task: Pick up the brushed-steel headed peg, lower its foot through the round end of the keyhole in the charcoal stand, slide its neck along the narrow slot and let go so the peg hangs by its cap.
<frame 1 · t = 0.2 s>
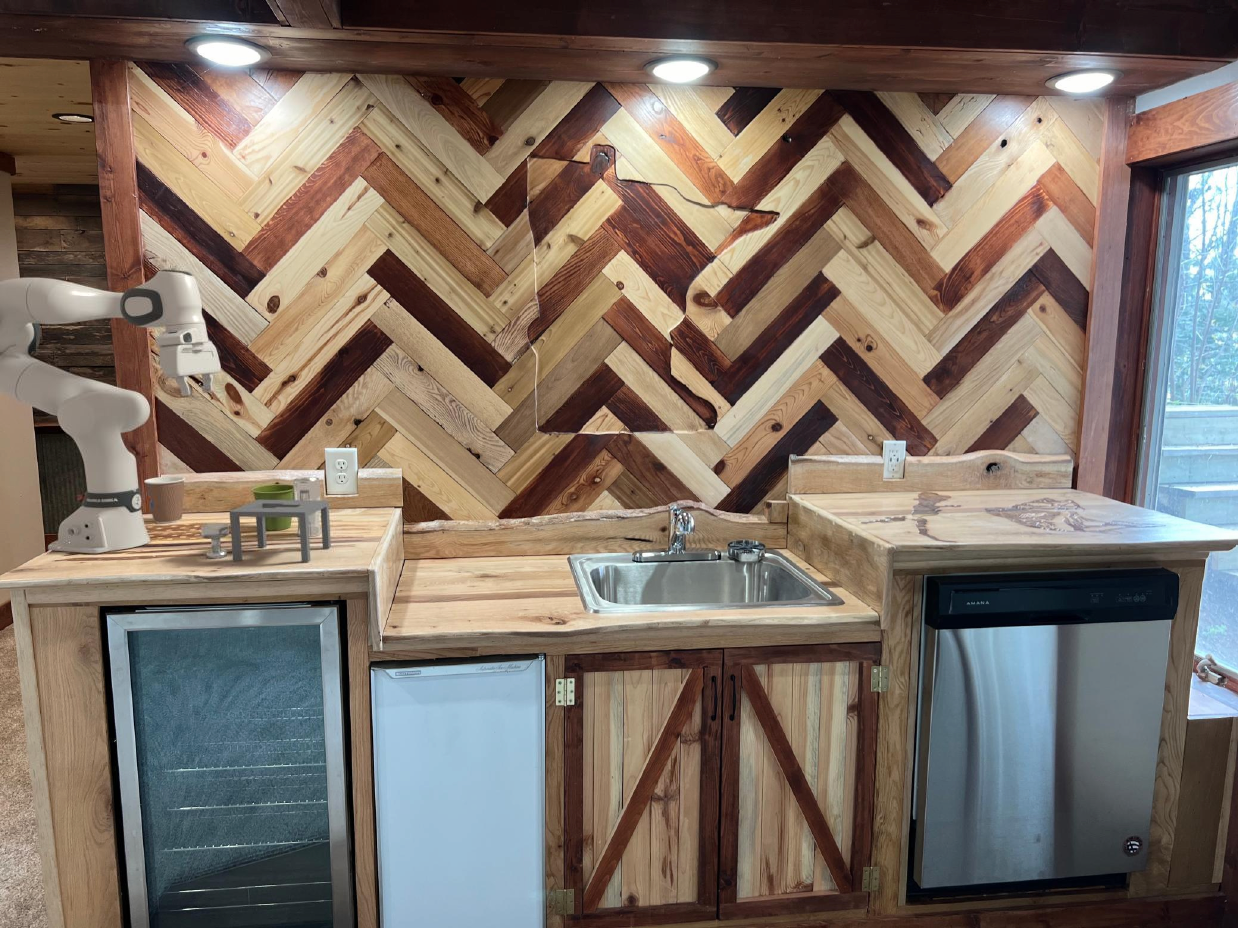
hand: (197, 394, 208), 38 cm above the counter, tool pointing down, fingers open, 8 cm apart
steel peg: (217, 556, 204), on the counter
plant pot: (277, 528, 233), on the counter
beer glass: (309, 535, 226), on the counter
coffee cup: (168, 521, 242), on the counter
keyhole stand: (283, 554, 206), on the counter
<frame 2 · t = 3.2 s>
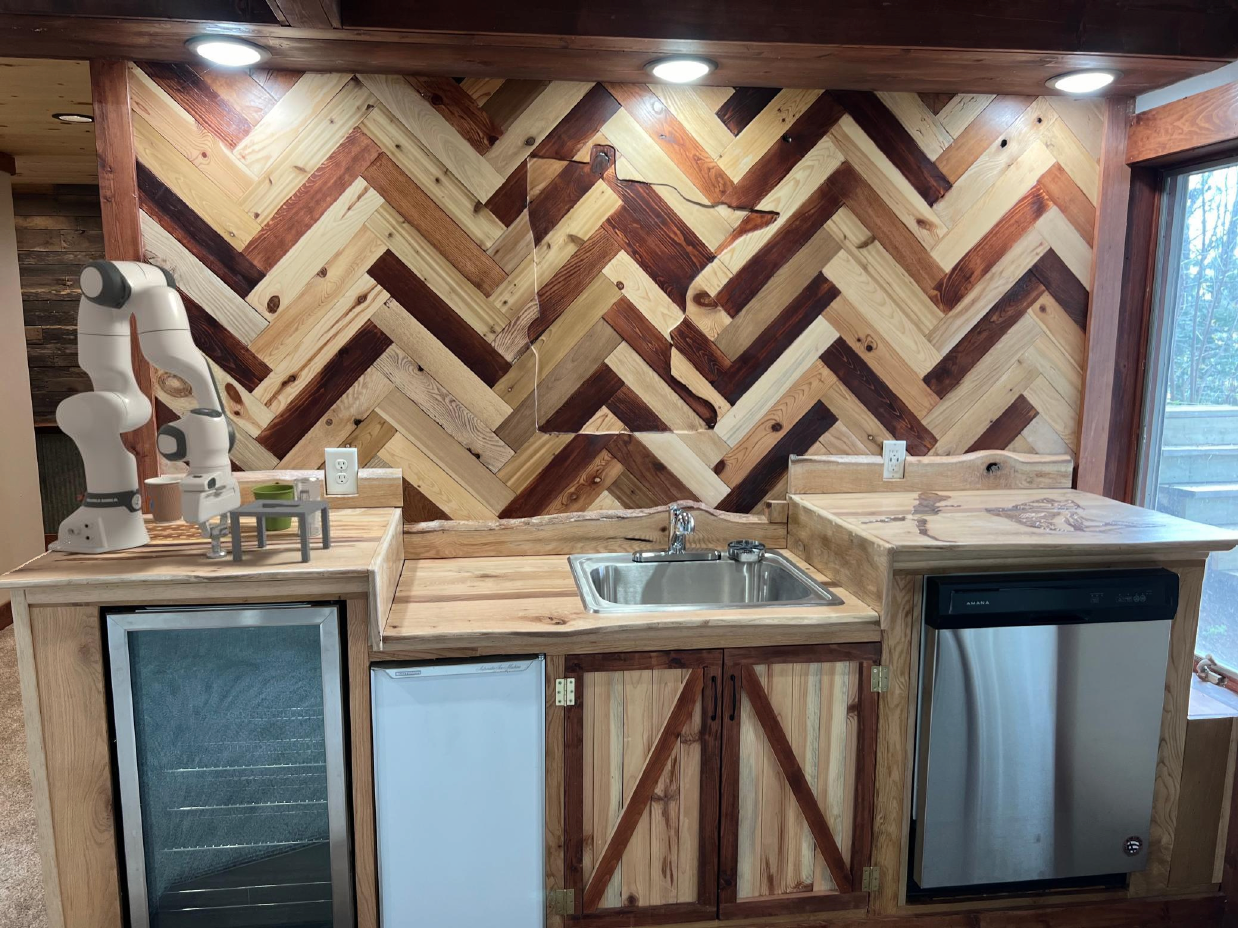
hand: (215, 534, 203), 6 cm above the counter, tool pointing down, fingers closed on steel peg, 6 cm apart
steel peg: (217, 556, 204), on the counter, touching gripper
everything else where it was.
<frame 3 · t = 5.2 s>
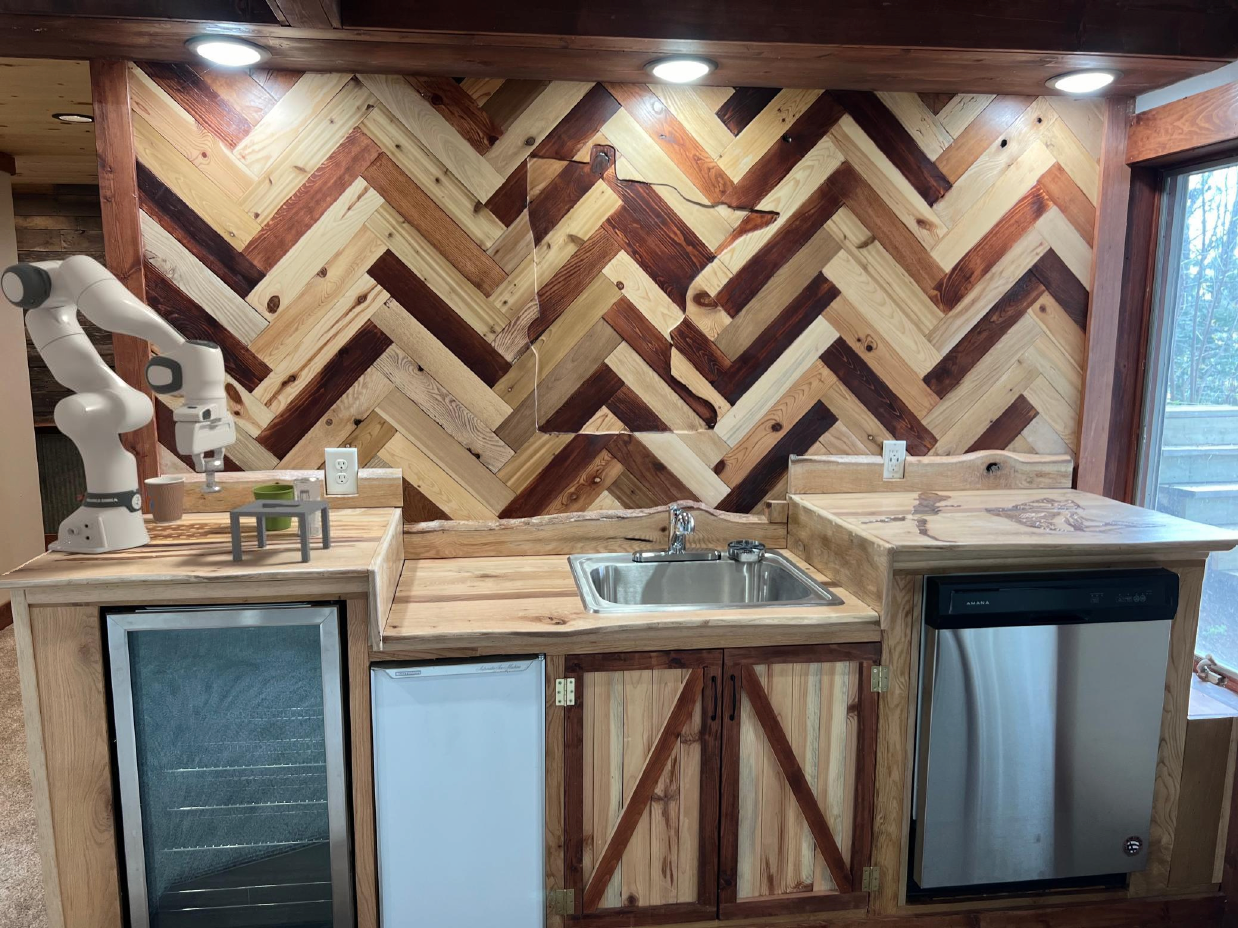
hand: (209, 468, 200), 21 cm above the counter, tool pointing down, fingers closed on steel peg, 6 cm apart
steel peg: (211, 491, 201), point 16 cm above the counter, touching gripper
everything else where it was.
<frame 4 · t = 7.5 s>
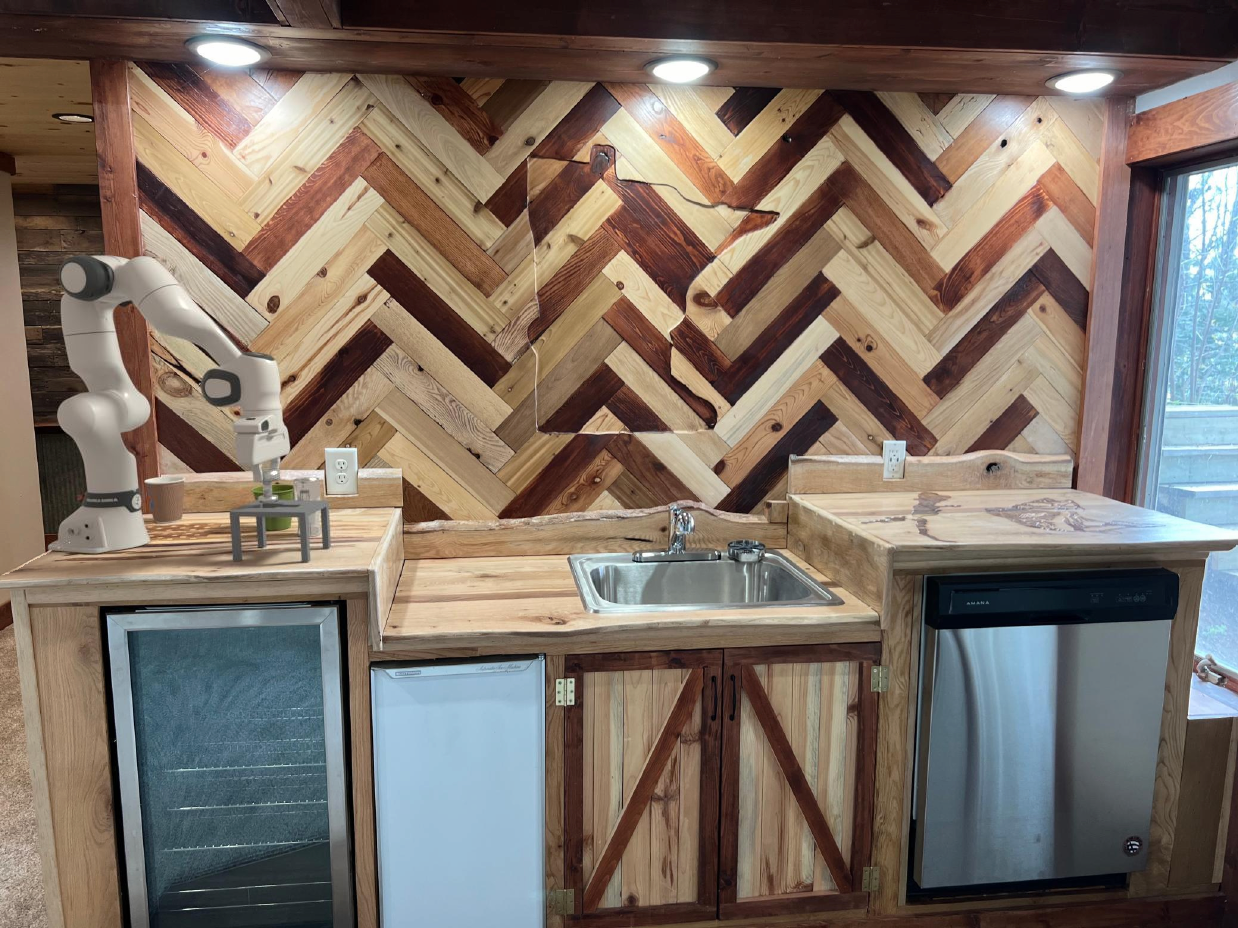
hand: (266, 478, 203), 19 cm above the counter, tool pointing down, fingers closed on steel peg, 6 cm apart
steel peg: (268, 501, 204), point 13 cm above the counter, touching gripper
everything else where it was.
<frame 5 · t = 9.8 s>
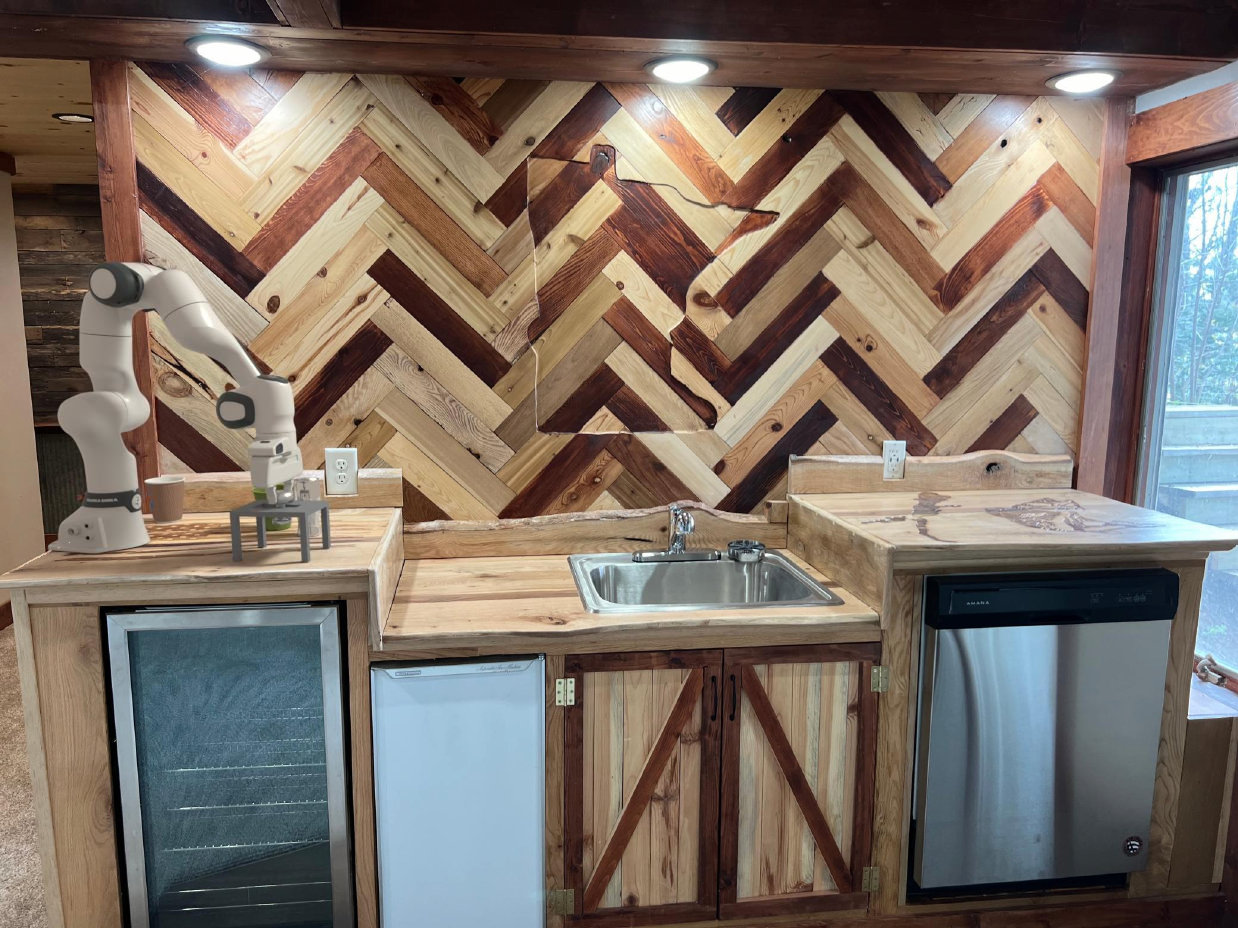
hand: (280, 500, 204), 13 cm above the counter, tool pointing down, fingers closed on steel peg, 6 cm apart
steel peg: (282, 522, 205), point 8 cm above the counter, touching gripper
everything else where it was.
when the fingers open (13 cm above the counter, at t = 11.9 s): steel peg stays where it is, resting on keyhole stand.
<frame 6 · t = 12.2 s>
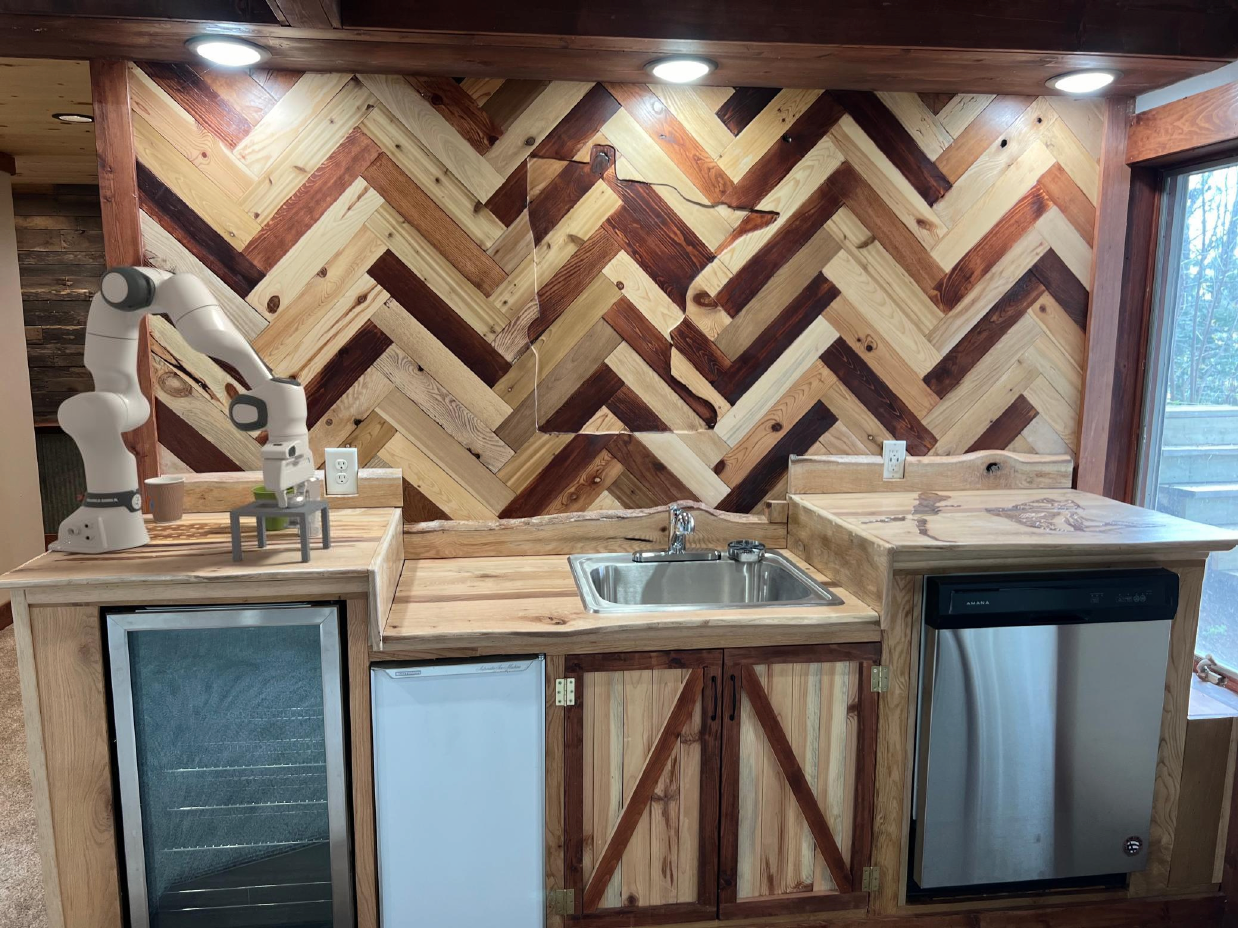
hand: (292, 503, 204), 13 cm above the counter, tool pointing down, fingers open, 8 cm apart
steel peg: (293, 527, 205), point 7 cm above the counter, touching keyhole stand
everything else where it was.
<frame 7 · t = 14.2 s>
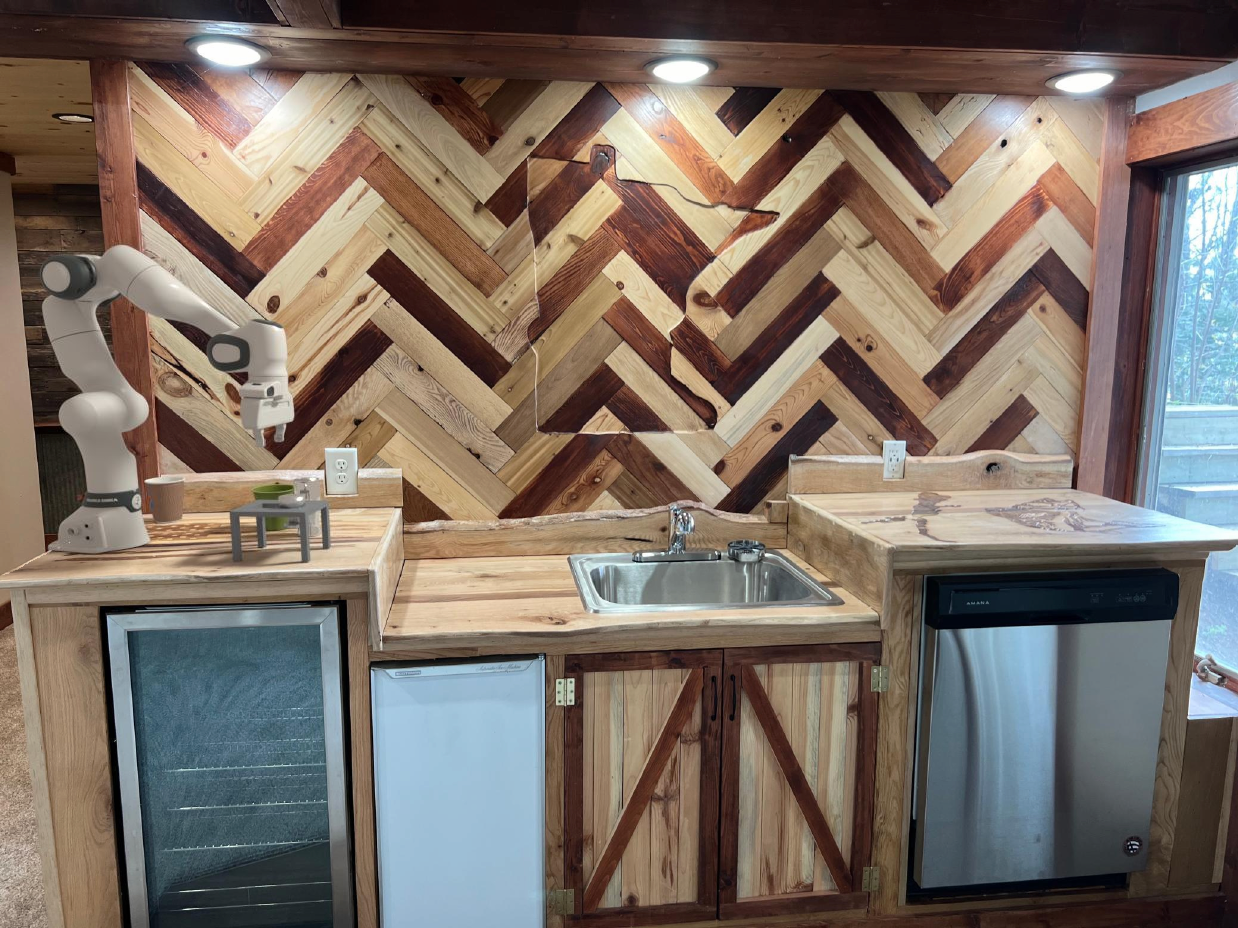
hand: (270, 444, 207), 26 cm above the counter, tool pointing down, fingers open, 8 cm apart
nothing on the counter moved.
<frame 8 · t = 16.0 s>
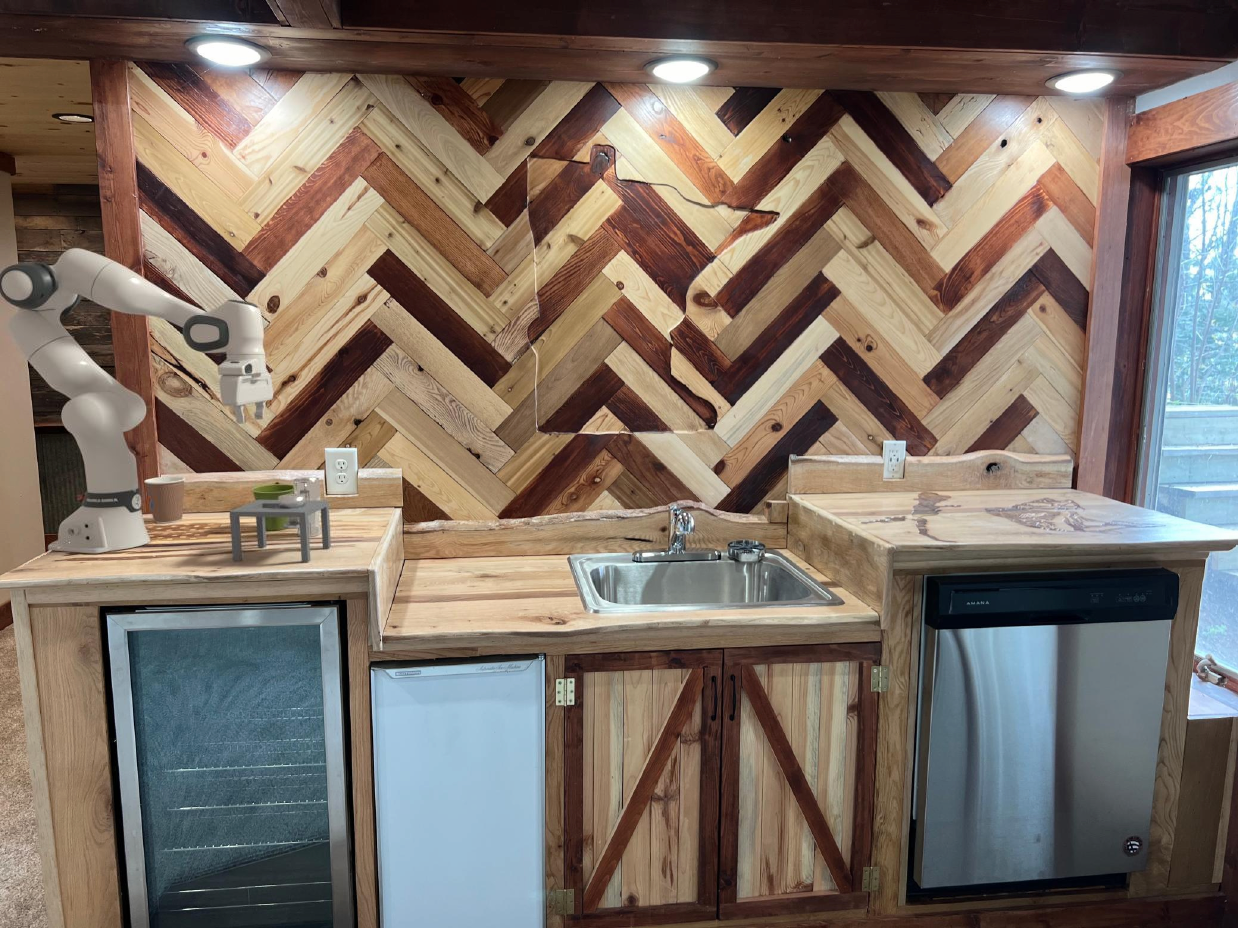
hand: (250, 421, 213), 31 cm above the counter, tool pointing down, fingers open, 8 cm apart
nothing on the counter moved.
at the end: steel peg 0.0 cm from the target spot on the keyhole stand, point 6.8 cm above the keyhole stand's base; steel peg tilted 0°; the gripper is holding nothing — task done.
